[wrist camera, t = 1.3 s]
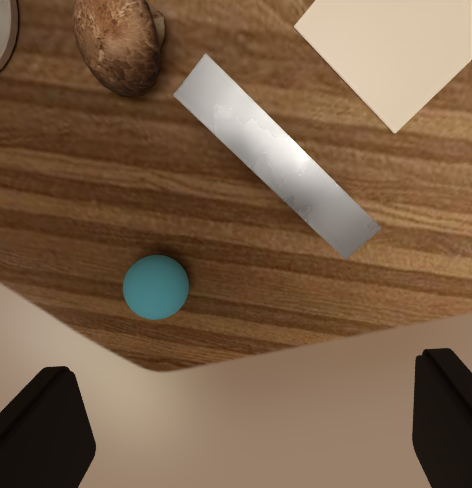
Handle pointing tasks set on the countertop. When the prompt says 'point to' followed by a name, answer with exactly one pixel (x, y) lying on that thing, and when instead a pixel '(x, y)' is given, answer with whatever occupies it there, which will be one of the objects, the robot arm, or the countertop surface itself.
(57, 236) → the countertop surface
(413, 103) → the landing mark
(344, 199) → the bridge
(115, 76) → the brown rounded lump
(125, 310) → the countertop surface
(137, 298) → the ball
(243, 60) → the countertop surface
